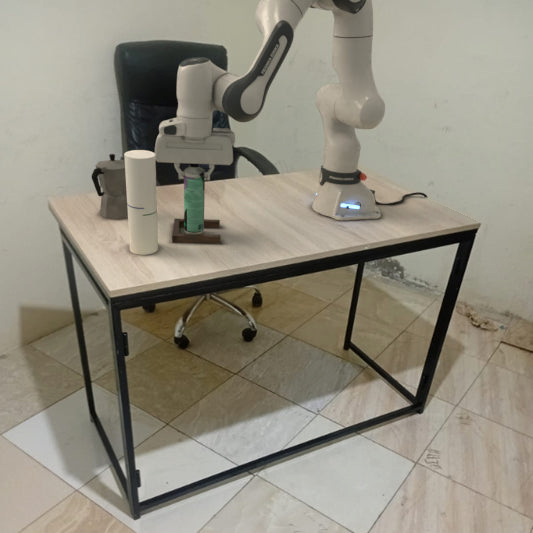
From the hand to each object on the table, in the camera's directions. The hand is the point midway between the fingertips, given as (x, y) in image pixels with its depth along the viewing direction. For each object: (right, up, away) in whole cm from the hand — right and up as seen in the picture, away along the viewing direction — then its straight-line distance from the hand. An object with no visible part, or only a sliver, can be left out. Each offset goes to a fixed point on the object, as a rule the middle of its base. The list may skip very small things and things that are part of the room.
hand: (194, 179), depth 134 cm
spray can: (-1, -14, +7) cm, 15 cm away
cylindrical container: (-13, -19, -3) cm, 23 cm away
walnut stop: (0, -14, +8) cm, 16 cm away
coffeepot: (-26, -8, +15) cm, 31 cm away
